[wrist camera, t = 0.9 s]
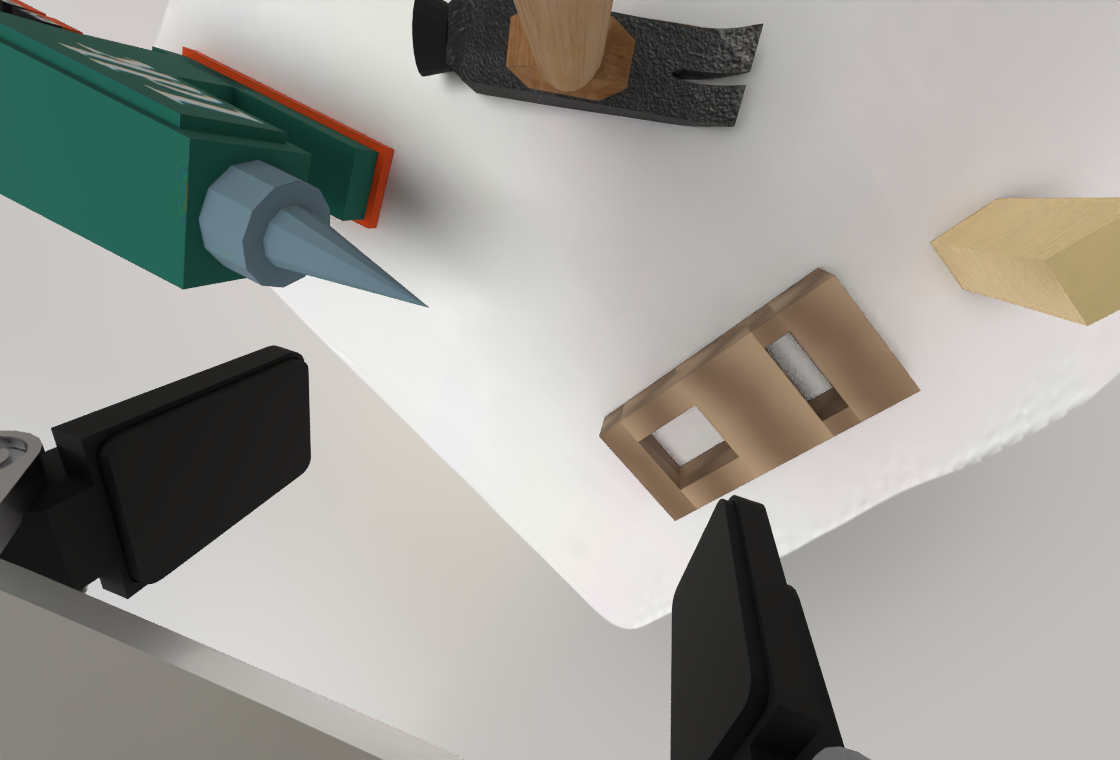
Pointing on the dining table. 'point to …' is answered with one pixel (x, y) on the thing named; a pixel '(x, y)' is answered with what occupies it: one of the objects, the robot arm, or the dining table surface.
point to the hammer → (585, 57)
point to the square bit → (1041, 255)
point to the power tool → (182, 161)
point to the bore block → (760, 396)
